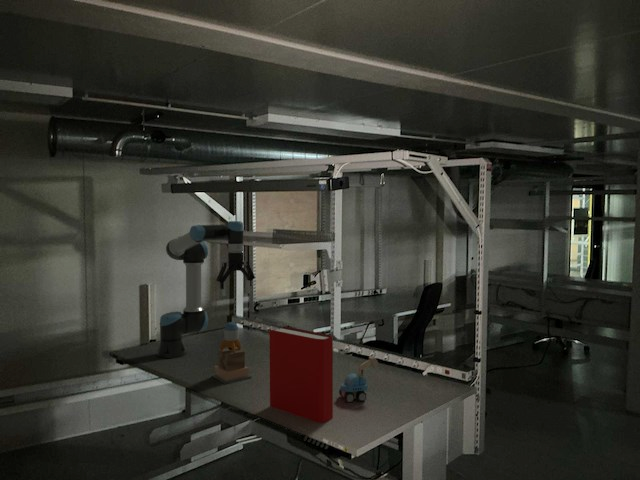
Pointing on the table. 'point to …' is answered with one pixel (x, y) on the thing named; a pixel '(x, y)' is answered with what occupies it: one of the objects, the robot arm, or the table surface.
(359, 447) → the table surface
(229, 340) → the toy rocket
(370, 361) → the toy excavator
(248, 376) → the build base
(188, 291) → the robot arm
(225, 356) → the walnut brick
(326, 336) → the book
